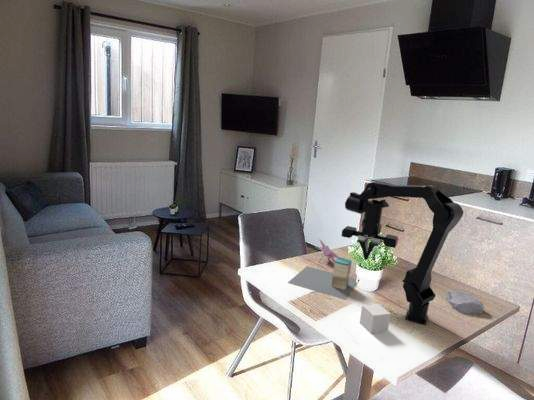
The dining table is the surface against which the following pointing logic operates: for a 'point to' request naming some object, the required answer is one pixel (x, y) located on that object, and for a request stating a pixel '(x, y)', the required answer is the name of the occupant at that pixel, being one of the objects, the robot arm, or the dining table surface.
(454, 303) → the stone block
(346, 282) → the maple block
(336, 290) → the rubber mat
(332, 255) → the lily
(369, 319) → the light grey cube
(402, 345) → the dining table surface
